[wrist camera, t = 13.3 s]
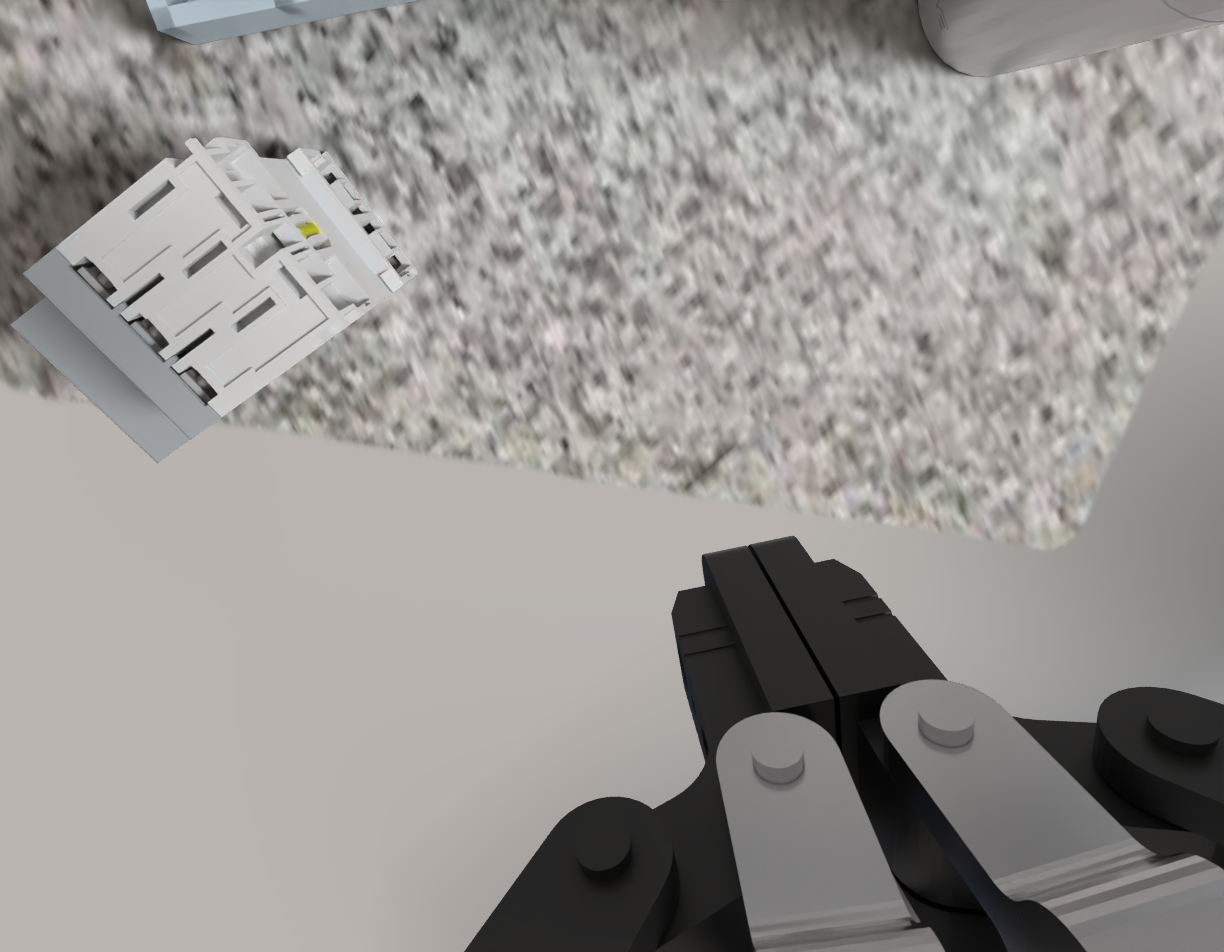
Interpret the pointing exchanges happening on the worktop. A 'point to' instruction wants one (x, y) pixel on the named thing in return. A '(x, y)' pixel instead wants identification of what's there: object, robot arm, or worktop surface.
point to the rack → (247, 15)
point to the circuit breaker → (207, 286)
